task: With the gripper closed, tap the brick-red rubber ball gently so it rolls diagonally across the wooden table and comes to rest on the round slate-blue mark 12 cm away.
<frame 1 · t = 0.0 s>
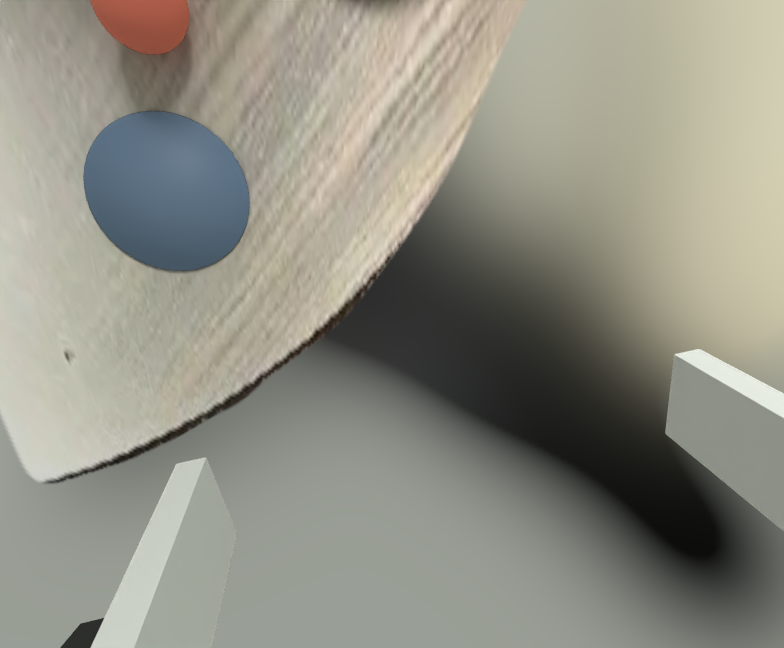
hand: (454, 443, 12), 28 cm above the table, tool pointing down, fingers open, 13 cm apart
ball: (141, 3, 27), on the table
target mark: (170, 195, 34), on the table
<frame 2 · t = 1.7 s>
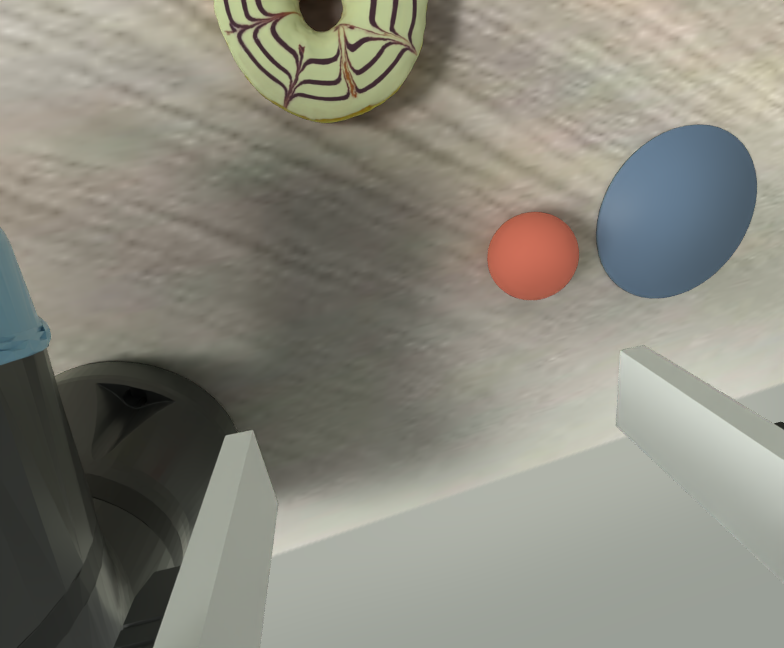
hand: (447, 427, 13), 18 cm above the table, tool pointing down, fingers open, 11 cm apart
decorated donut: (322, 15, 24), on the table
ball: (531, 256, 27), on the table
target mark: (675, 217, 31), on the table
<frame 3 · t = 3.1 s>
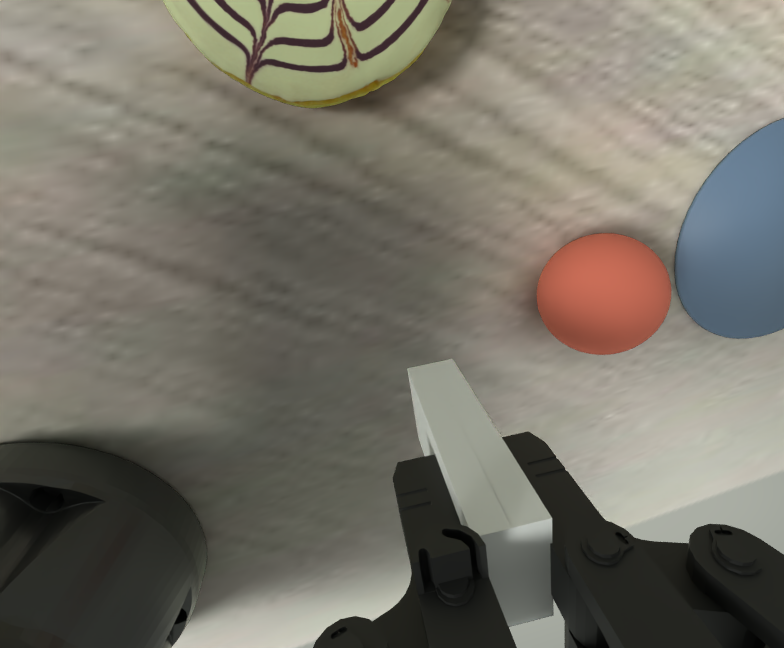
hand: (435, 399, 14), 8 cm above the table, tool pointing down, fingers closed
ball: (599, 294, 20), on the table
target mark: (777, 235, 23), on the table
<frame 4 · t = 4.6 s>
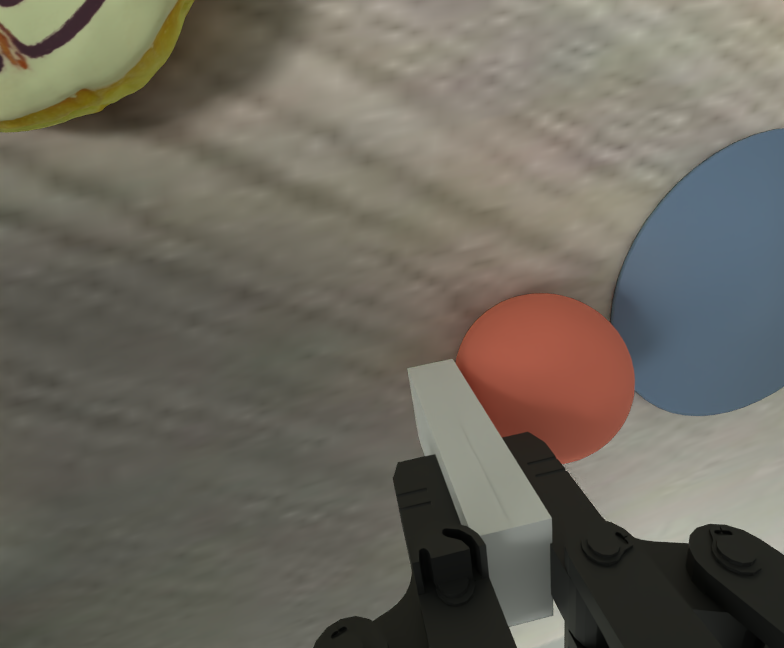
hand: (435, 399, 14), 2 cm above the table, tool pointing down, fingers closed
ball: (538, 377, 14), on the table
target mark: (746, 287, 18), on the table
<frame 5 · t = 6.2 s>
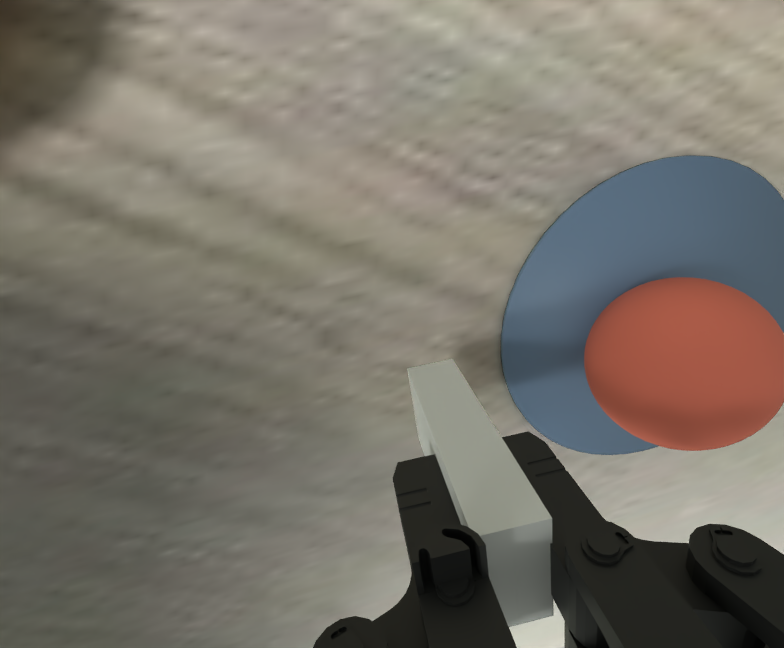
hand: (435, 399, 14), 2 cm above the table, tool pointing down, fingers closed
ball: (676, 362, 14), on the table
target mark: (650, 323, 17), on the table
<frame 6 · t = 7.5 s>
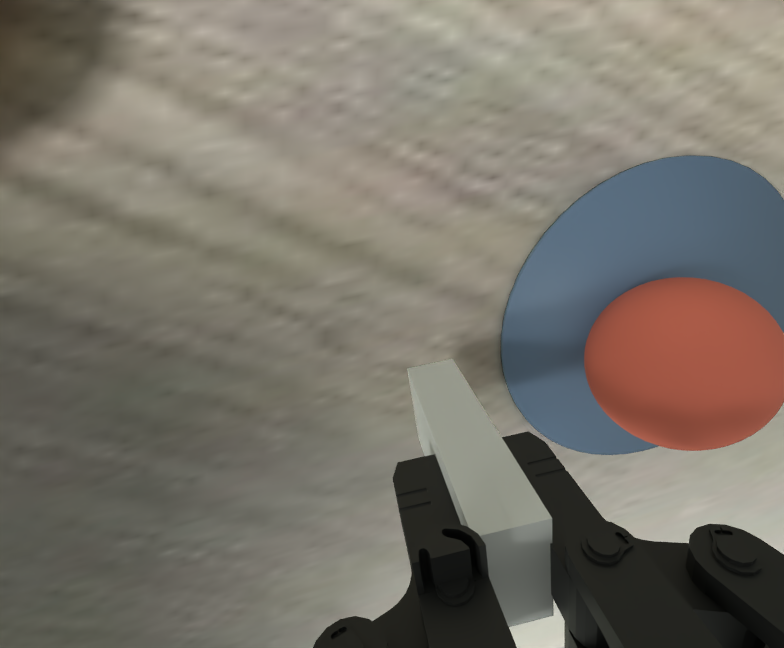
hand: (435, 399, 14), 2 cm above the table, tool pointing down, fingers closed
ball: (676, 362, 14), on the table
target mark: (650, 323, 17), on the table
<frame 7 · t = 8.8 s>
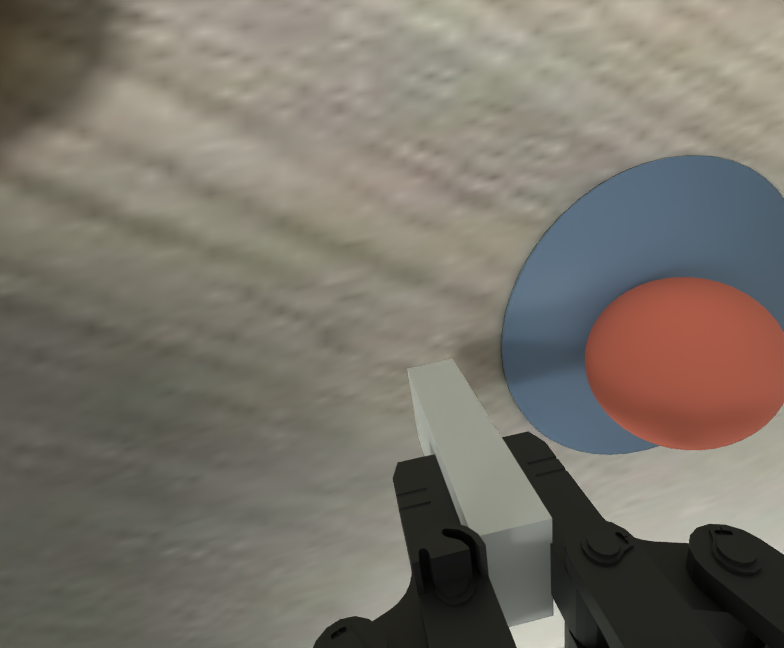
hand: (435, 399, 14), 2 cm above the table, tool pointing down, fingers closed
ball: (677, 362, 14), on the table
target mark: (651, 322, 17), on the table
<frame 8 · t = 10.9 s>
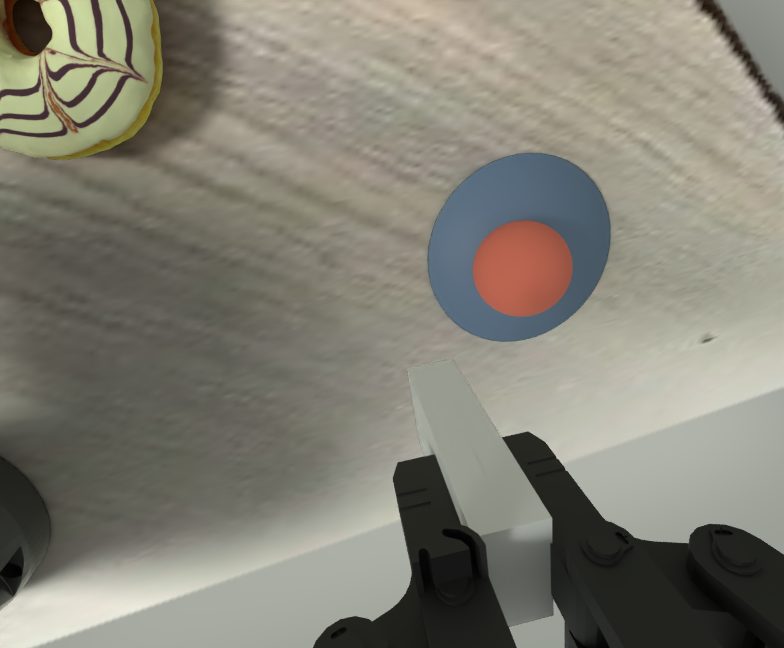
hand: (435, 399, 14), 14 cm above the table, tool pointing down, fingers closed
decorated donut: (57, 35, 21), on the table
ball: (521, 269, 25), on the table
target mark: (519, 254, 28), on the table
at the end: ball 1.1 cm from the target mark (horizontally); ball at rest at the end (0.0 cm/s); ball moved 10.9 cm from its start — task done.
